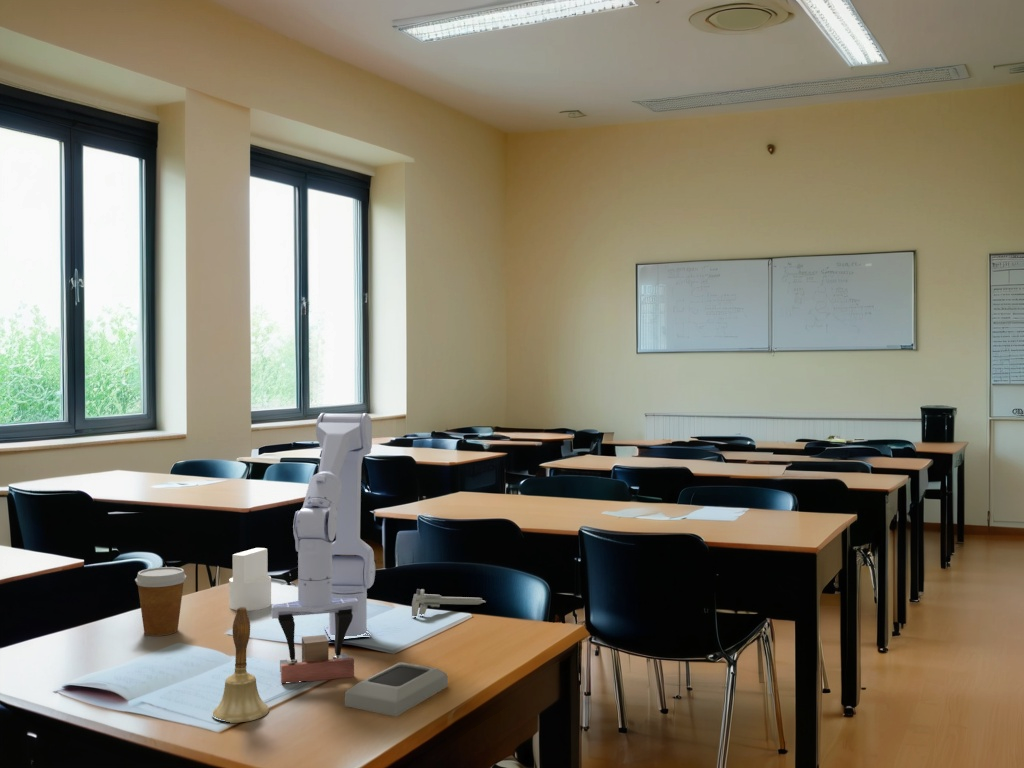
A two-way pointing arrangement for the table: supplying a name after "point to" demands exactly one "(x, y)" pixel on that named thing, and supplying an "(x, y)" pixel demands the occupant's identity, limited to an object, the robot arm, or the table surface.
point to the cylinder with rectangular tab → (250, 580)
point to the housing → (317, 669)
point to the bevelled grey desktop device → (396, 688)
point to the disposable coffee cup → (160, 599)
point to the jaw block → (315, 648)
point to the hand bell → (240, 681)
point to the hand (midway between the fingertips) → (315, 656)
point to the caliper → (438, 601)
